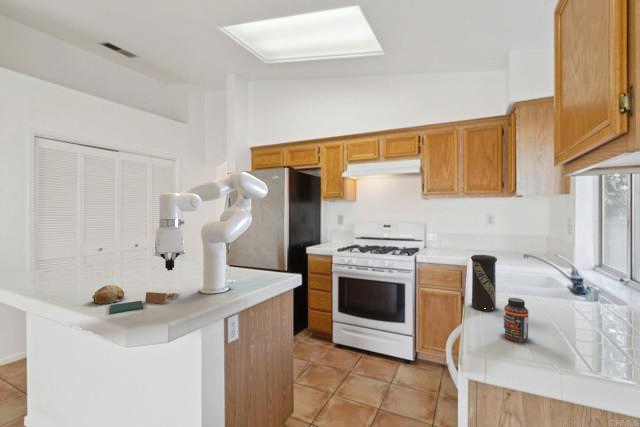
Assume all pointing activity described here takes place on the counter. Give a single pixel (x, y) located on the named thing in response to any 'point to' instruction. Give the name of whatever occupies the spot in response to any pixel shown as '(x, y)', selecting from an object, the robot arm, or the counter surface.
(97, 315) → the counter surface
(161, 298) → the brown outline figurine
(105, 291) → the bread roll
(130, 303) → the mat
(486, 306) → the container
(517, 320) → the supplement bottle
